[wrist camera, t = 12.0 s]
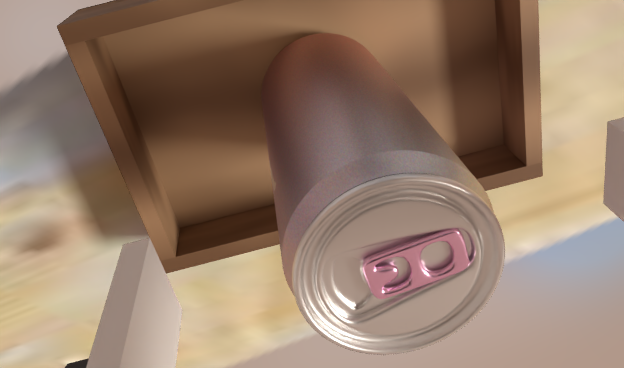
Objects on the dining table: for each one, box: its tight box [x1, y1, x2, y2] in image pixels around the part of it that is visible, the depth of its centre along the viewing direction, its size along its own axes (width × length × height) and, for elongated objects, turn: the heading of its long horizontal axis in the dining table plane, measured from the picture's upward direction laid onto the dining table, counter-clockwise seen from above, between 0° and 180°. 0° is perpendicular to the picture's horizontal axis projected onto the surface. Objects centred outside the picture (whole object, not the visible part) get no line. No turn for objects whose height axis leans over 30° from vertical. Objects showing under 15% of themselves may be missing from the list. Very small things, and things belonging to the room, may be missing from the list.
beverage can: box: [261, 33, 505, 355], centre depth 21 cm, size 6×6×15 cm
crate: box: [57, 0, 543, 273], centre depth 27 cm, size 13×20×4 cm, turn 103°
